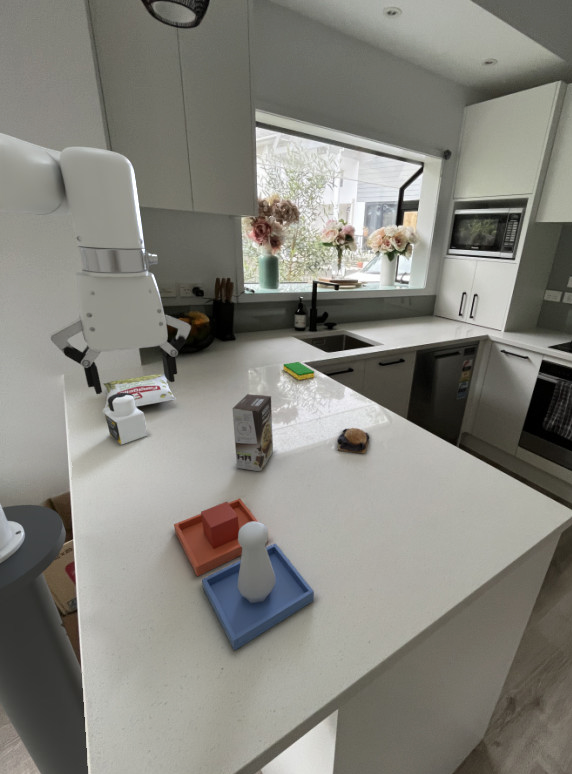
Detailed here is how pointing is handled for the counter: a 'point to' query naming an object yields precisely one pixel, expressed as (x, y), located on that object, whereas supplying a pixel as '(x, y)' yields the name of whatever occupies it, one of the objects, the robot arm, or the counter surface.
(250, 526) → the salt shaker
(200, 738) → the counter surface
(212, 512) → the red block
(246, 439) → the coffee box
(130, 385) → the frozen beans
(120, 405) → the medicine bottle
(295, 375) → the dish sponge
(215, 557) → the red tray
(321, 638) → the counter surface
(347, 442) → the burger
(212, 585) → the blue tray
